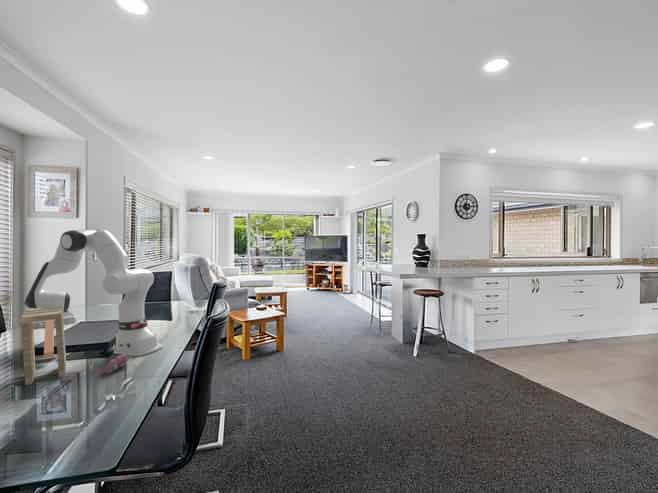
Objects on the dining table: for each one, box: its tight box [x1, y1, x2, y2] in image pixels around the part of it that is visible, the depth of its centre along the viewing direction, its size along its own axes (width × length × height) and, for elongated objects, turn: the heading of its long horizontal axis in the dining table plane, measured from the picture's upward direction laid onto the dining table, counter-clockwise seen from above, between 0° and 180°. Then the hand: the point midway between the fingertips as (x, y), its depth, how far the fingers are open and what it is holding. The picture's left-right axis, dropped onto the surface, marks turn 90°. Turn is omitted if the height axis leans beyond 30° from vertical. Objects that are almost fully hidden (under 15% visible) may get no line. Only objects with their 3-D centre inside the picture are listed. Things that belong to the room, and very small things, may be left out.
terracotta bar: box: [43, 319, 55, 359], centre depth 154 cm, size 22×3×3 cm
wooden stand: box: [19, 306, 67, 386], centre depth 135 cm, size 16×12×26 cm
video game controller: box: [101, 354, 130, 374], centre depth 140 cm, size 10×5×7 cm, turn 170°
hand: (49, 326), depth 159 cm, fingers closed on terracotta bar, 3 cm apart
